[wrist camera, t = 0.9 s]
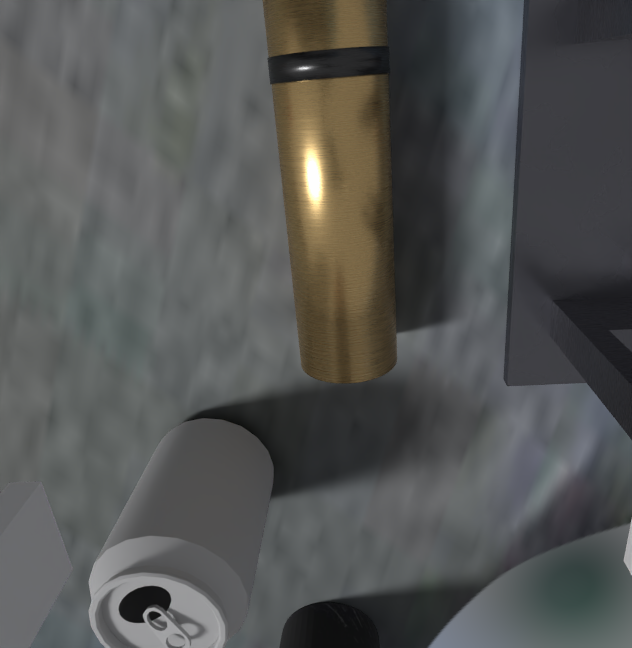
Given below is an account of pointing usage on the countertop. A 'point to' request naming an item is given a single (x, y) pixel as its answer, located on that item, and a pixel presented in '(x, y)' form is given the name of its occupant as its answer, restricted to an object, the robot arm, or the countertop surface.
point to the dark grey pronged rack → (573, 203)
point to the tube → (336, 180)
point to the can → (185, 542)
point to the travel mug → (329, 628)
